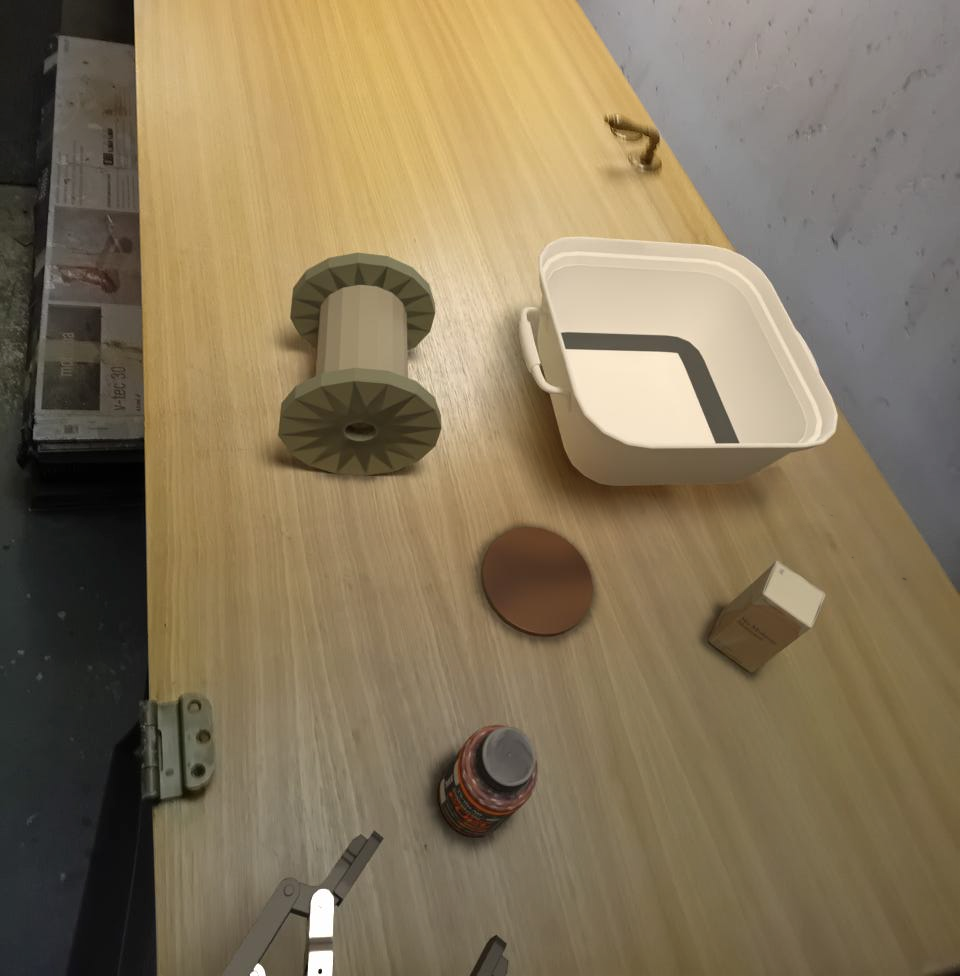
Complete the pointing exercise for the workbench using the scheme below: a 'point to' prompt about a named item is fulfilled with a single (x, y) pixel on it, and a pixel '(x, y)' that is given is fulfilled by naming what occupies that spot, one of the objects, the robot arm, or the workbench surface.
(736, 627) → the box
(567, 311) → the pot
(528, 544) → the disc
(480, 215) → the workbench surface
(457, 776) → the supplement bottle
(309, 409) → the spool
